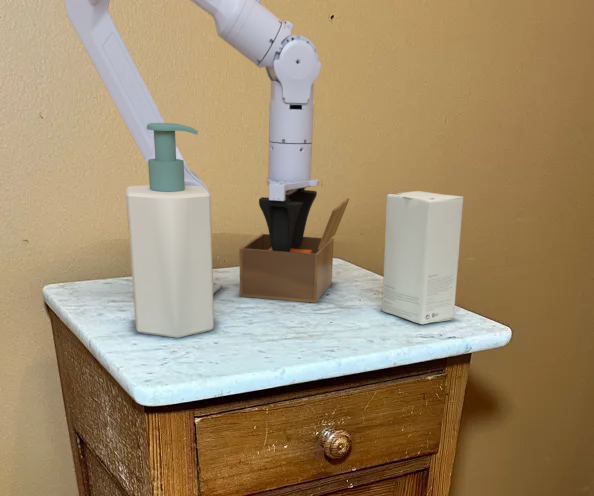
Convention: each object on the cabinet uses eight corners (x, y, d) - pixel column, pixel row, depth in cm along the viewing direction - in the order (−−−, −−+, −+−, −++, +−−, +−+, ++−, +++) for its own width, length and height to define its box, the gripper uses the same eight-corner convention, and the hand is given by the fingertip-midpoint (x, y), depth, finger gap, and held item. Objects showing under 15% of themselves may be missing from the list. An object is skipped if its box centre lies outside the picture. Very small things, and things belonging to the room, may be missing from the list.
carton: (261, 277, 117) (261, 233, 114) (331, 283, 115) (333, 238, 112) (239, 296, 107) (239, 248, 104) (316, 303, 105) (318, 254, 102)
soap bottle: (216, 337, 90) (211, 127, 80) (137, 339, 89) (121, 125, 78) (207, 313, 99) (201, 121, 88) (134, 315, 97) (119, 119, 87)
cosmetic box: (454, 320, 99) (469, 196, 92) (418, 326, 96) (432, 199, 89) (411, 305, 105) (422, 188, 98) (376, 310, 102) (386, 190, 95)
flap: (347, 198, 109) (349, 198, 109) (333, 233, 112) (335, 234, 112) (332, 210, 99) (334, 211, 99) (317, 248, 102) (319, 249, 102)
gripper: (308, 148, 95) (304, 261, 101) (330, 140, 107) (325, 242, 114) (253, 144, 96) (252, 257, 103) (280, 137, 108) (278, 238, 115)
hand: (287, 249), depth 108 cm, fingers open, 7 cm apart
